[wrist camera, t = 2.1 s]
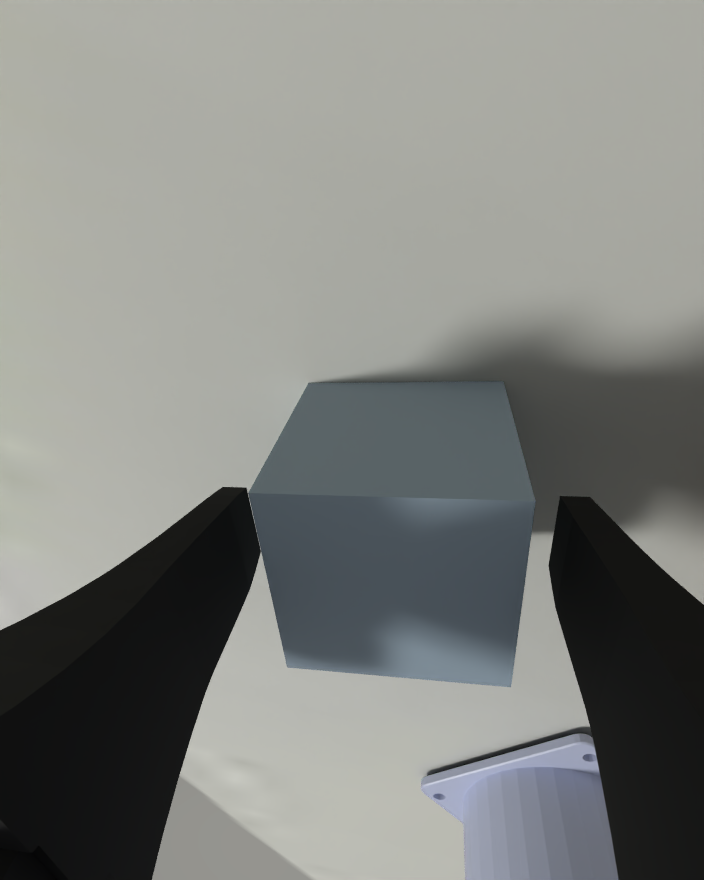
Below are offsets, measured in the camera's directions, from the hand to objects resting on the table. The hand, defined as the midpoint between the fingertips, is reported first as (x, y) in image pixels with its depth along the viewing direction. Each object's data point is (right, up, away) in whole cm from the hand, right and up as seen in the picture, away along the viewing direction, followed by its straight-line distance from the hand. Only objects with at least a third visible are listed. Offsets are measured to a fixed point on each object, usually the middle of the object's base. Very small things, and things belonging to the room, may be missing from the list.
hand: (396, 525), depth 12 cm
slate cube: (0, +1, +2) cm, 3 cm away
